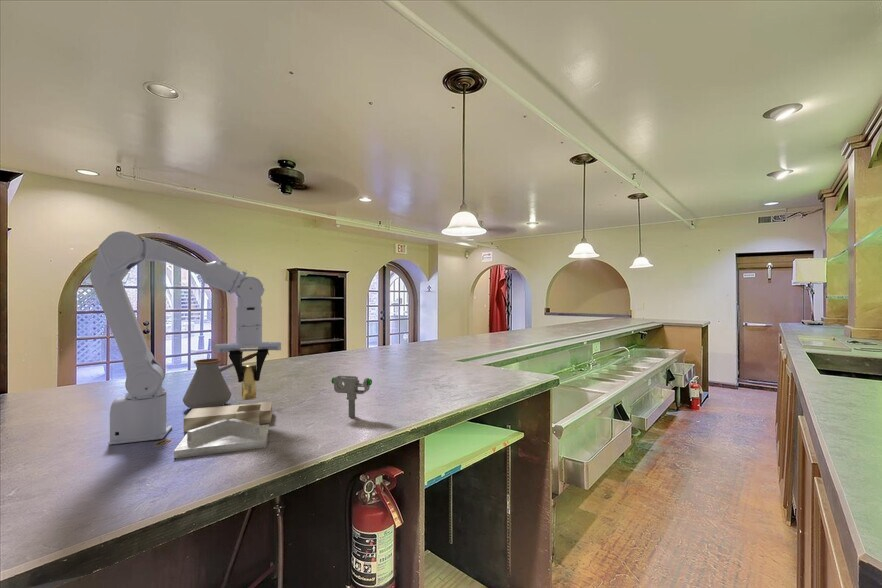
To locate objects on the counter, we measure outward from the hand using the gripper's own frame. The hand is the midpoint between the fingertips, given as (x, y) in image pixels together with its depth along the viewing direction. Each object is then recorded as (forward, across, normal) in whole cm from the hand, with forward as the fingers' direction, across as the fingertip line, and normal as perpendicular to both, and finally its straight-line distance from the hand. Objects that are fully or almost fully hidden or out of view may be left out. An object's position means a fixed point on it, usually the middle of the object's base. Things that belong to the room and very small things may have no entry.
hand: (249, 380), depth 97 cm
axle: (+4, 0, 0) cm, 4 cm away
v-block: (+10, -3, -15) cm, 18 cm away
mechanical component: (+10, +24, -6) cm, 27 cm away
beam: (+10, -4, 0) cm, 10 cm away
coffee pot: (+10, -7, +17) cm, 21 cm away
